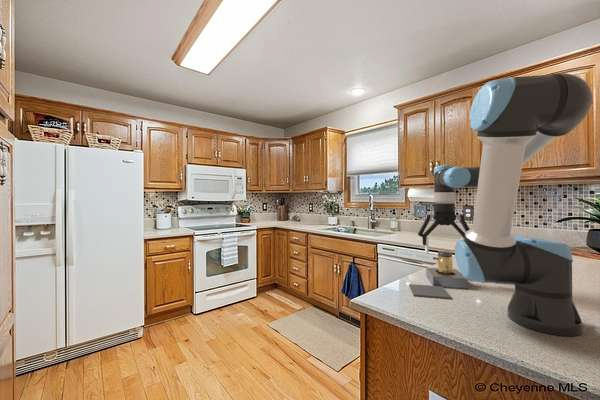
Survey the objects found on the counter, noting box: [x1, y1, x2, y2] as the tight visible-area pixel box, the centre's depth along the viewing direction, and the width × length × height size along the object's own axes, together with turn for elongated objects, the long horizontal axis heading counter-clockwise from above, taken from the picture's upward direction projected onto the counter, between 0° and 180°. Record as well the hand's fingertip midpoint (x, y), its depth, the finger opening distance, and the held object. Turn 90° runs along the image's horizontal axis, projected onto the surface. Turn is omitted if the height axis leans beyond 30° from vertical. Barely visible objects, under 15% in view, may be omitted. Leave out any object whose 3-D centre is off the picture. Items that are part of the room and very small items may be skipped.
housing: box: [425, 267, 469, 290], centre depth 108 cm, size 14×12×4 cm
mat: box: [408, 283, 452, 300], centre depth 97 cm, size 12×12×1 cm
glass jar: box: [437, 250, 453, 275], centre depth 108 cm, size 5×5×12 cm
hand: (444, 253), depth 108 cm, fingers open, 13 cm apart
